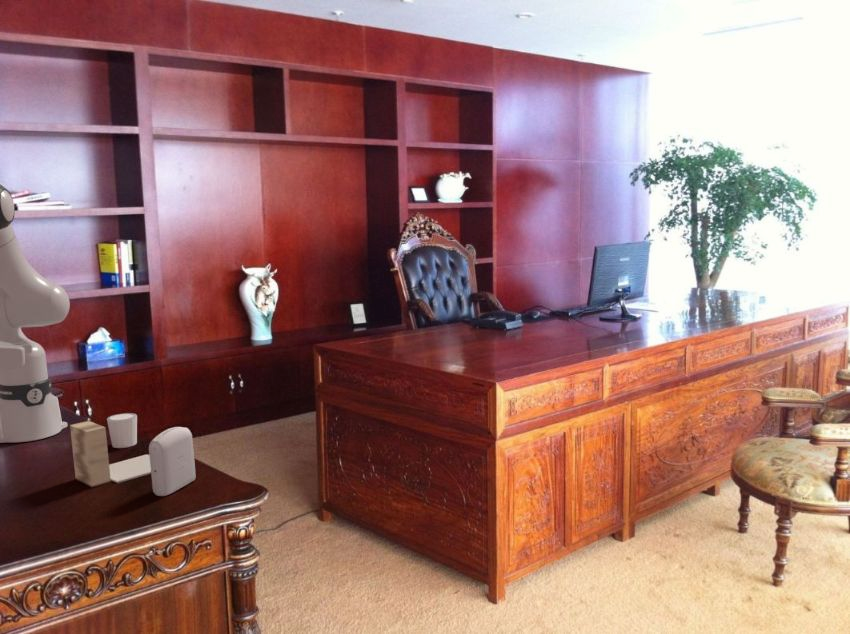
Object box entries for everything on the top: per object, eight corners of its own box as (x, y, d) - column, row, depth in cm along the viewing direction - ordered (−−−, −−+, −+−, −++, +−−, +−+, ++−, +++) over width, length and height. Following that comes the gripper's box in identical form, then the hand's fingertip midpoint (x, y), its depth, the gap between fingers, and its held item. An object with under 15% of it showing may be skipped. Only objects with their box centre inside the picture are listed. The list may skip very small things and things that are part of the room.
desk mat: (92, 471, 178) (91, 469, 178) (147, 455, 187) (146, 454, 187) (117, 483, 170) (117, 481, 170) (173, 466, 179) (173, 465, 179)
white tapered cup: (115, 450, 192) (113, 422, 191) (105, 444, 197) (102, 416, 196) (144, 444, 196) (141, 416, 195) (133, 438, 201) (130, 411, 200)
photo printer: (167, 497, 161) (161, 437, 159) (149, 495, 162) (144, 436, 160) (199, 480, 170) (194, 423, 168) (182, 478, 172) (177, 421, 170)
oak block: (75, 479, 173) (69, 425, 171) (93, 474, 176) (88, 420, 174) (92, 487, 168) (86, 431, 166) (110, 482, 171) (105, 427, 169)
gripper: (-69, 363, 156) (6, 356, 167) (-26, 379, 143) (52, 370, 154) (-70, 331, 156) (5, 326, 166) (-27, 344, 143) (51, 338, 153)
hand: (28, 347), depth 160 cm, fingers closed
